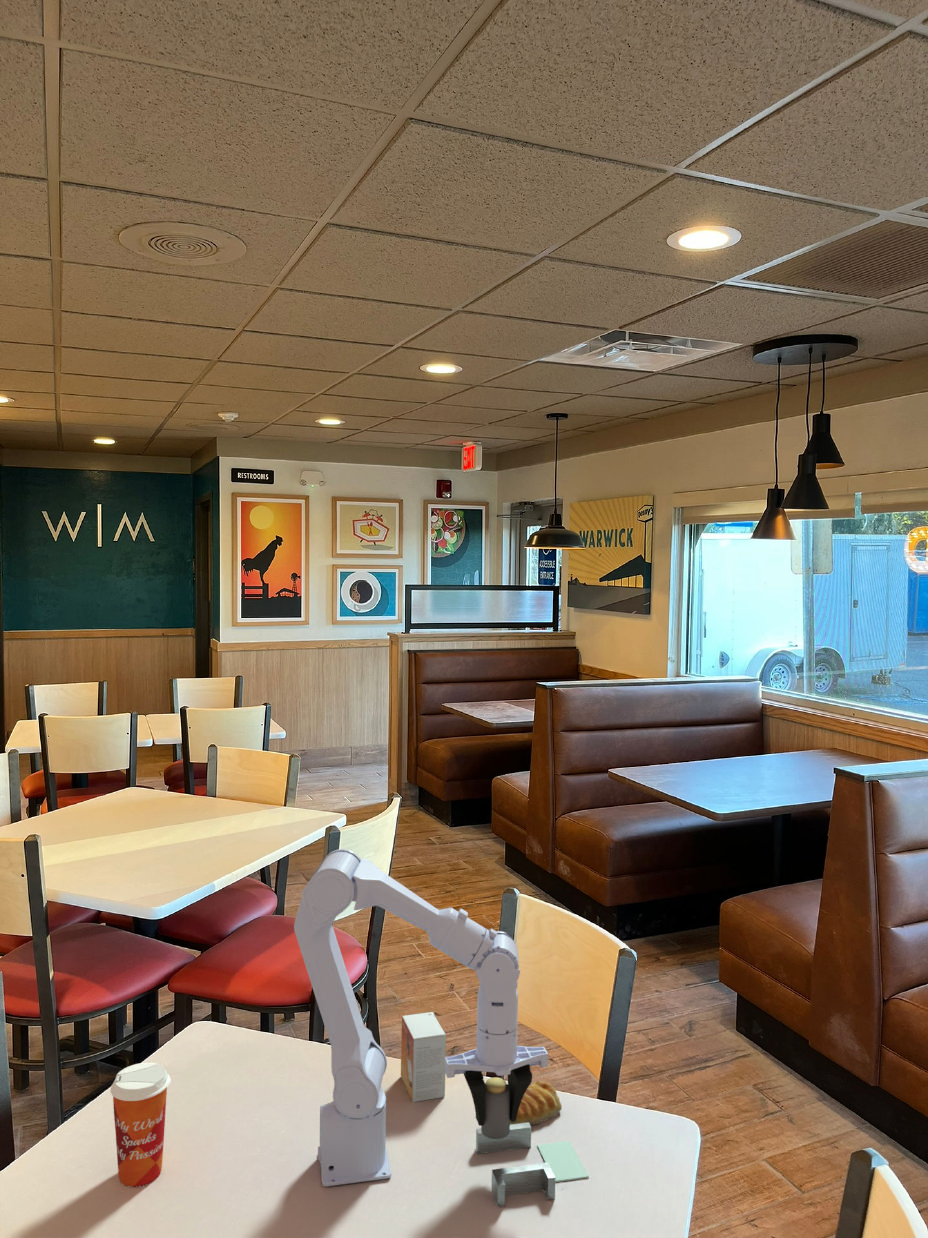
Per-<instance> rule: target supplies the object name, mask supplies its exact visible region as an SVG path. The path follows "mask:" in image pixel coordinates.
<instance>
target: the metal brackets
mask: <svg viewBox="0 0 928 1238" xmlns="http://www.w3.org/2000/svg"><path fill="white" fill-rule="evenodd" d="M475 1132H476V1133H475V1135H476V1136H475V1150H476V1153H477V1155H480V1154H481V1155H482V1154H488V1153H496V1152H503V1151H511V1150H512V1151H513V1150H520V1149H526V1148H527V1149H528V1148H531V1147H532V1126H531V1125H530V1124H529V1122H528V1123H519V1124H510V1132H509V1134H508V1136H506V1137H504V1138H502V1139H491V1138H488V1137H486V1136H484V1135H483V1134H482V1132H481V1127H480V1128H476V1129H475ZM539 1191H543V1192H544V1195H545V1198H546V1199H547V1201H550V1200H555V1199H556V1182H555V1176H554V1174H553V1172H552V1169H551V1167H550V1165H549V1163H548V1162H546V1163H545V1162H541V1163H531V1164H525V1165H517V1166H510V1167H509V1166H508V1167H500V1168H495V1169H491V1194H492V1196H493V1199H494V1201H495V1205H496V1207H497V1208H502V1207H505V1205H506V1204H505V1203H506V1196H511V1195H517V1194H524V1193H526V1194H527V1193H531V1192H532V1193H533V1192H539Z"/></svg>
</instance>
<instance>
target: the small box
mask: <svg viewBox="0 0 928 1238" xmlns="http://www.w3.org/2000/svg"><path fill="white" fill-rule="evenodd" d="M400 1039H401V1045H400V1047H401V1048H400V1049H401V1050H400V1077H401V1079H402V1081H403V1084H404V1085H405V1088H406V1090H407V1093H408V1095H409V1098H410V1099H411V1102H412V1103H417V1102H423V1101H429V1100H435V1099H441V1098H445V1096H446V1073H445V1057H447V1033H445V1031H444V1029H443V1028H442V1026H441V1024H440V1022H439V1021H438V1019H437V1017H436V1015H435V1013H434V1012H433V1011H430V1012H421V1013H414V1014H409V1015H408V1014H407V1015H406V1014H405V1015H402V1016H401V1038H400Z"/></svg>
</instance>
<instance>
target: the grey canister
mask: <svg viewBox="0 0 928 1238" xmlns="http://www.w3.org/2000/svg"><path fill="white" fill-rule="evenodd" d="M485 1084H486V1090H485V1098H484V1117H485V1120H484V1125H482V1126H480V1128H481V1132H482V1134H483V1135H484V1136H486V1137H488V1138H491V1139H502V1138H504V1137H506V1136H508V1134H509V1132H510V1125H511V1124H510V1087H509V1085H508V1083H506V1080H505V1079H503V1078H501V1077H490V1078H488V1079H487V1080H486V1081H485Z"/></svg>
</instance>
